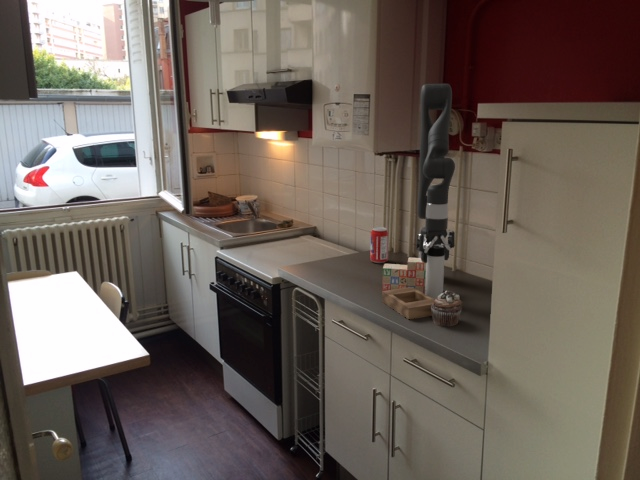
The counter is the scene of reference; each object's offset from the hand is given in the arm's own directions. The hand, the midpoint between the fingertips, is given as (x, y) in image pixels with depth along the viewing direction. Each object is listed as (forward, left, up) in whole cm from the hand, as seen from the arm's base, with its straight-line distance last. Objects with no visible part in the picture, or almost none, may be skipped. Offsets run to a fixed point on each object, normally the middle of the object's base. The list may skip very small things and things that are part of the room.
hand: (434, 261), depth 194 cm
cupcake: (+19, -8, -15) cm, 25 cm away
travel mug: (0, 0, -15) cm, 15 cm away
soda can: (-51, +5, -15) cm, 53 cm away
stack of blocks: (-12, -2, -15) cm, 19 cm away
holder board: (+4, -12, -14) cm, 19 cm away
